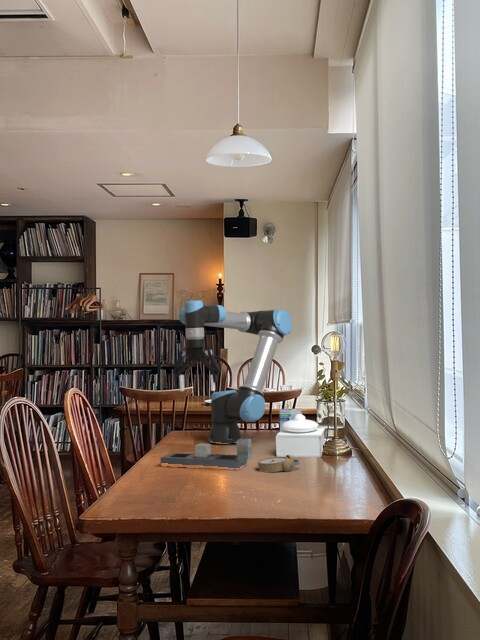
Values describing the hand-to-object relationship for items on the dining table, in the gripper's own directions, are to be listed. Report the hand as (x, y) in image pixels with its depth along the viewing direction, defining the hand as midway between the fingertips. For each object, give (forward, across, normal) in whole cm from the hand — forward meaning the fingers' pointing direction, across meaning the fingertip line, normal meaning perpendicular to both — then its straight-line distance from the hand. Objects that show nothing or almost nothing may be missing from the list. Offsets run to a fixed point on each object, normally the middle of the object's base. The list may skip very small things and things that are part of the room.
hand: (197, 390), depth 253 cm
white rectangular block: (+26, +21, -7) cm, 34 cm away
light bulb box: (+28, +23, +61) cm, 71 cm away
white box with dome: (+27, +39, +12) cm, 49 cm away
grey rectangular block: (+26, +9, -18) cm, 33 cm away
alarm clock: (+27, +38, -19) cm, 50 cm away
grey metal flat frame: (+26, +9, -18) cm, 33 cm away
